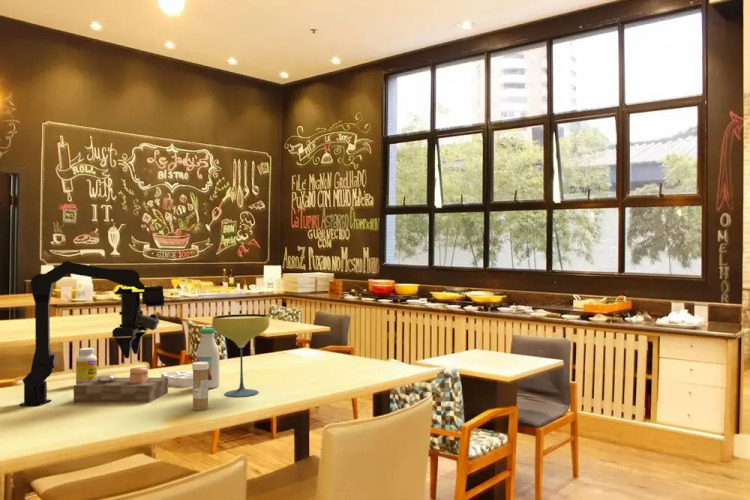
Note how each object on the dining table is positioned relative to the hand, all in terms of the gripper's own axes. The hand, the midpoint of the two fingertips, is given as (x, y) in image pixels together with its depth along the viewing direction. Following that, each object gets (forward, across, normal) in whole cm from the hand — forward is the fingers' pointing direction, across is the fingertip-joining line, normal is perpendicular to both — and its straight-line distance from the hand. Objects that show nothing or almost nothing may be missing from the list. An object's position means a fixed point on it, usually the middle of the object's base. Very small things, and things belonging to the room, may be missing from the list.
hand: (131, 356), depth 199 cm
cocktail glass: (+13, -3, -35) cm, 38 cm away
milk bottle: (+13, +10, -22) cm, 28 cm away
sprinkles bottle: (+13, -23, -26) cm, 37 cm away
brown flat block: (+13, -3, +2) cm, 13 cm away
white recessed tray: (+14, +20, -12) cm, 27 cm away
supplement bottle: (+13, +21, +22) cm, 32 cm away
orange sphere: (+9, -4, -3) cm, 10 cm away
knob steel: (+11, -2, +8) cm, 14 cm away
